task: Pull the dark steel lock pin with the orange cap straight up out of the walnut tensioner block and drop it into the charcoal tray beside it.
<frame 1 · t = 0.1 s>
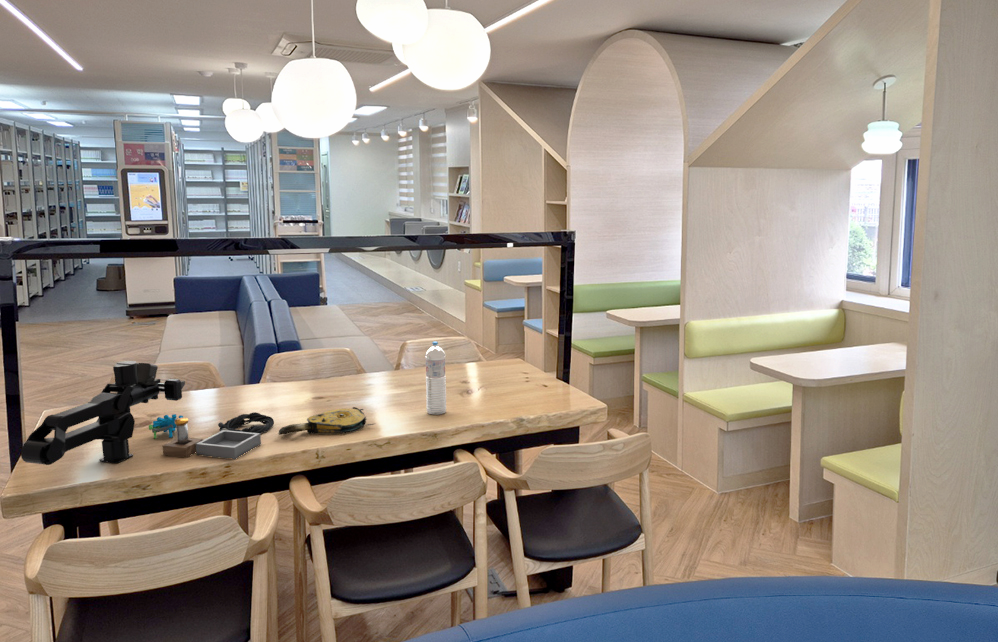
hand: (172, 381, 234), 17 cm above the table, tool horizontal, fingers open, 9 cm apart
tensioner block: (183, 451, 219), on the table
tray: (229, 449, 220), on the table
lock pin: (182, 435, 218), in the tensioner block
cable: (248, 432, 238), on the table
water bottle: (436, 413, 257), on the table
gear: (168, 435, 234), on the table
pulley block: (325, 431, 239), on the table
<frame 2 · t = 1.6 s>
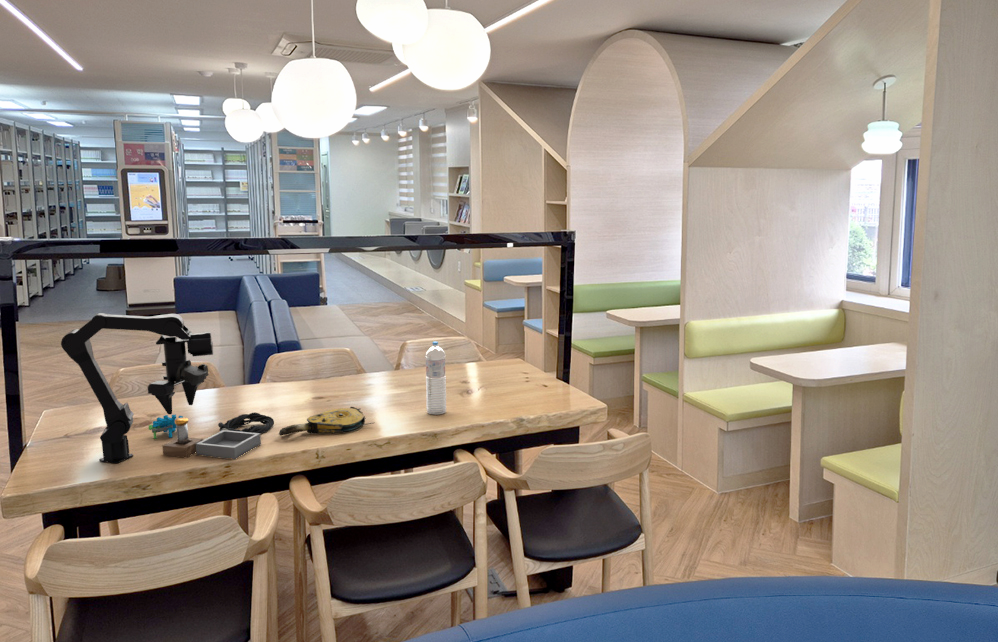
hand: (180, 409, 217), 13 cm above the table, tool pointing down, fingers open, 9 cm apart
nothing on the table moved.
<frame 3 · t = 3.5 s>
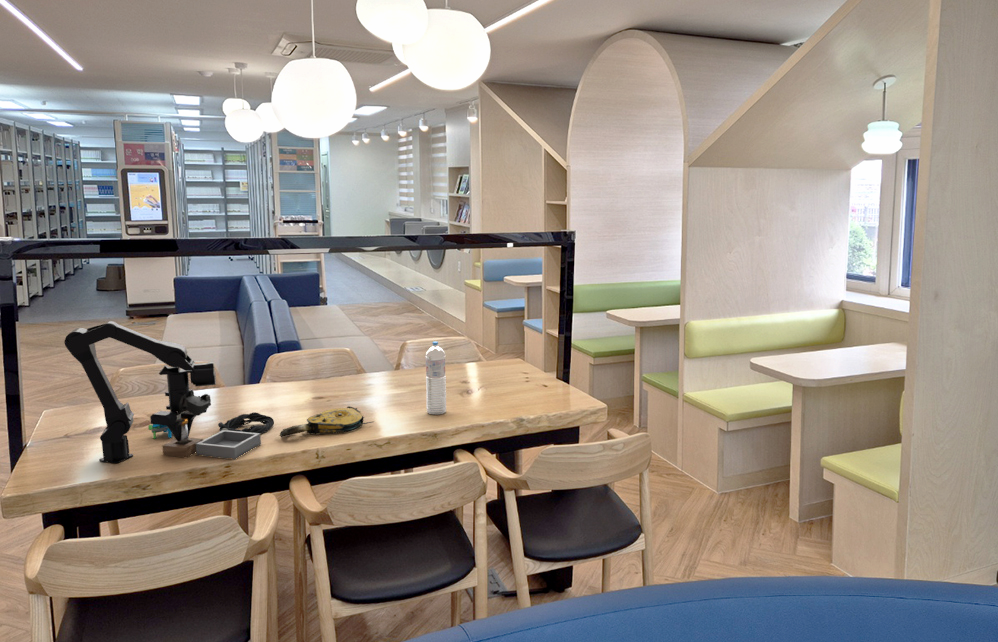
hand: (182, 438, 218), 4 cm above the table, tool pointing down, fingers closed on lock pin, 3 cm apart
lock pin: (182, 435, 218), in the tensioner block, touching gripper
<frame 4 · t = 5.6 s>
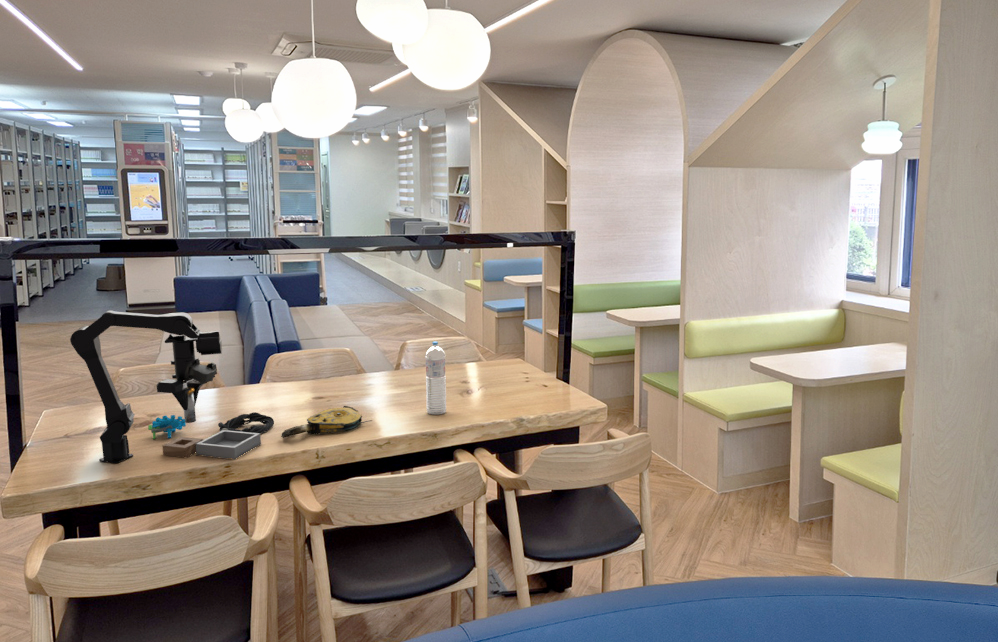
hand: (189, 408, 217), 13 cm above the table, tool pointing down, fingers closed on lock pin, 3 cm apart
lock pin: (188, 405, 217), point 14 cm above the table, touching gripper
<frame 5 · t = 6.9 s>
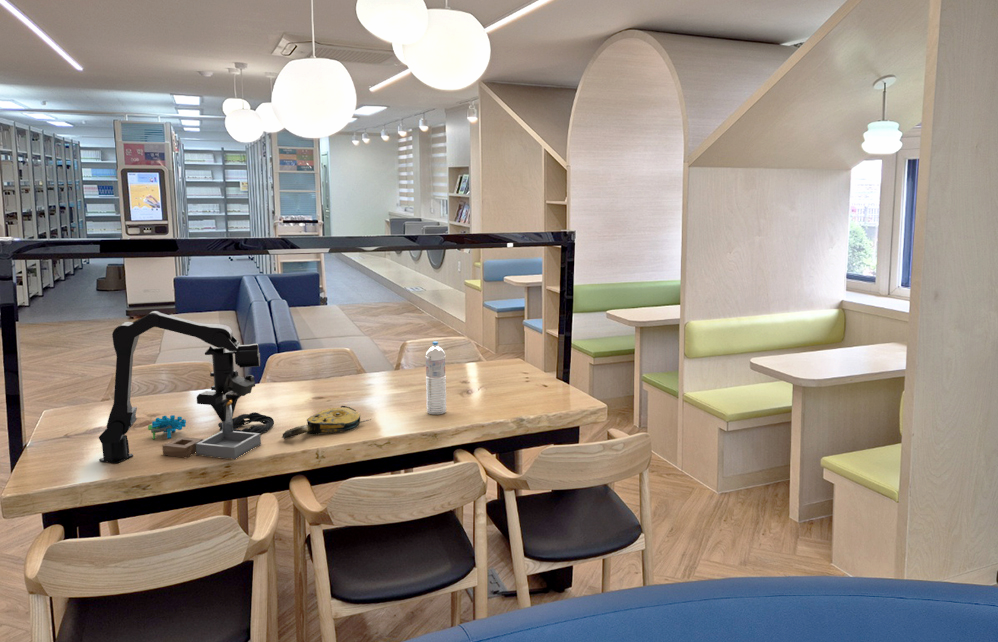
hand: (226, 419, 219), 9 cm above the table, tool pointing down, fingers closed on lock pin, 3 cm apart
lock pin: (226, 416, 219), point 10 cm above the table, touching gripper
when the fingers open (7 cm above the table, at t = 7.9 s): lock pin drops 2 cm, resting on tray.
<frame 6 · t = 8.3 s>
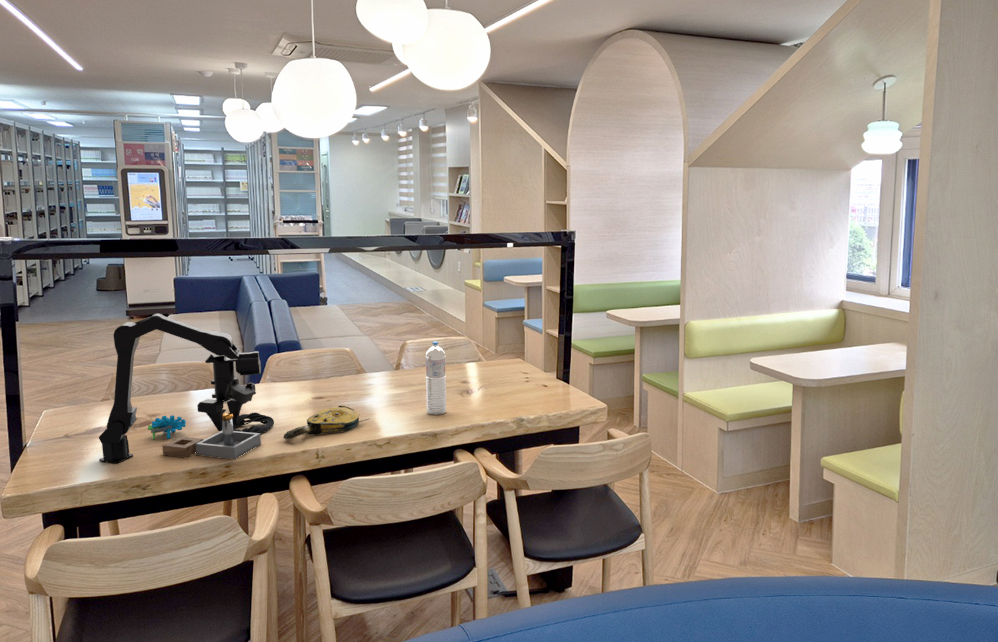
hand: (227, 427, 219), 7 cm above the table, tool pointing down, fingers open, 7 cm apart
lock pin: (227, 430, 220), in the tray, point 6 cm above the table
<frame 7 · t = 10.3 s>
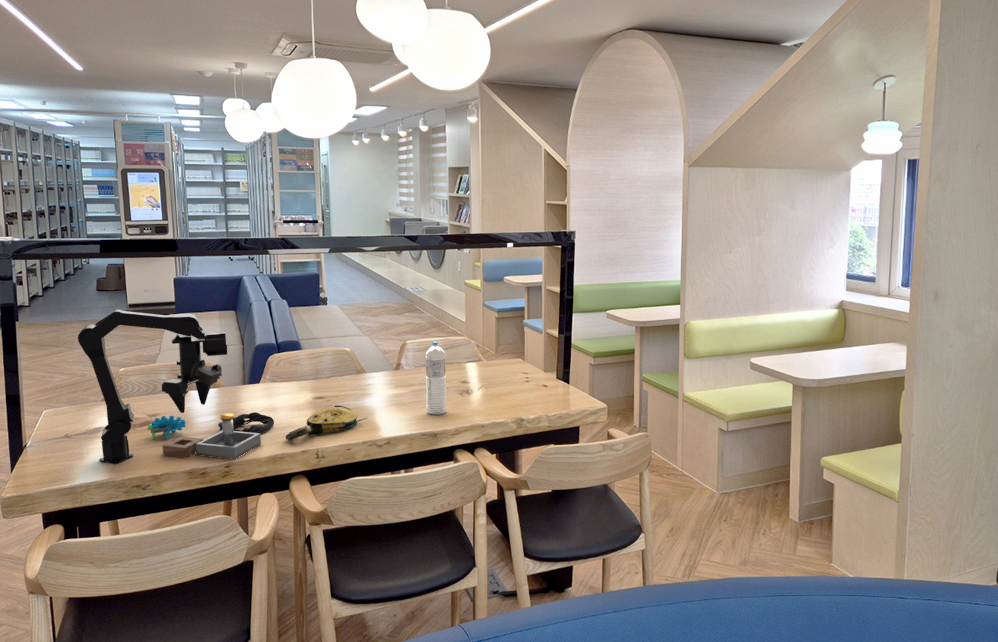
hand: (192, 408, 219), 13 cm above the table, tool pointing down, fingers open, 9 cm apart
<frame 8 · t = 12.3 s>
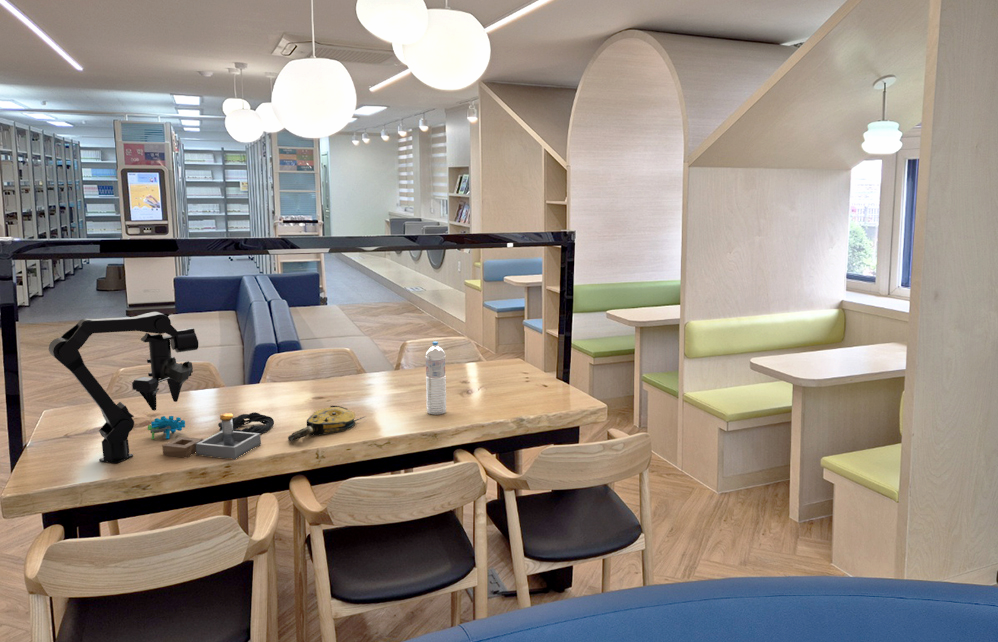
hand: (165, 405, 220), 13 cm above the table, tool pointing down, fingers open, 9 cm apart
at the end: lock pin inside the target area on the tray (0.1 cm from its centre), point 5.8 cm above the tray's base; the gripper is holding nothing; lock pin moved 13.0 cm from its start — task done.
